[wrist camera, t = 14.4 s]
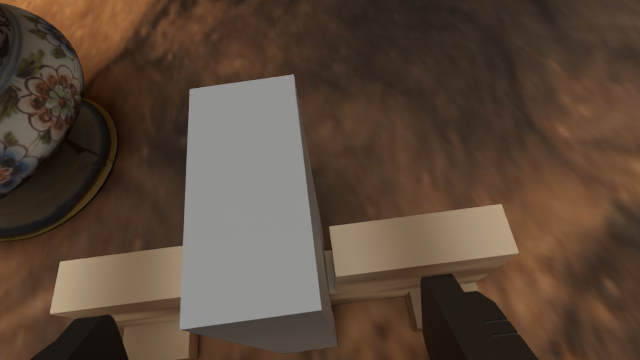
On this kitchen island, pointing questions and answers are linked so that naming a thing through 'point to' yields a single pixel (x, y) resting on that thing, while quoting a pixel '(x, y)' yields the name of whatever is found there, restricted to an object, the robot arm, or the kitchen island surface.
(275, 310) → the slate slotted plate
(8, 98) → the apothecary jar
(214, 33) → the kitchen island surface
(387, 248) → the birch slotted board
